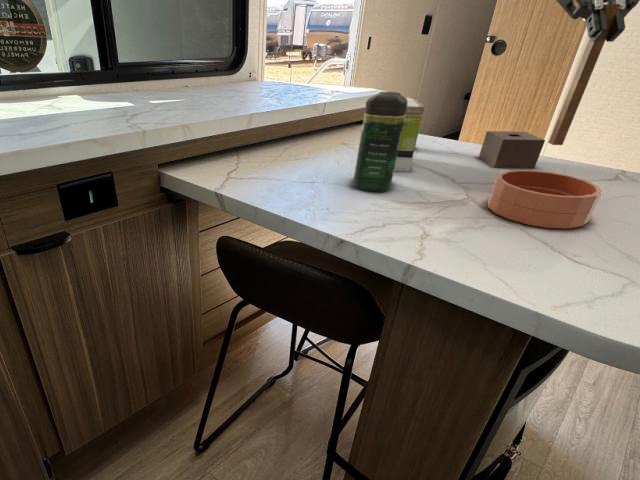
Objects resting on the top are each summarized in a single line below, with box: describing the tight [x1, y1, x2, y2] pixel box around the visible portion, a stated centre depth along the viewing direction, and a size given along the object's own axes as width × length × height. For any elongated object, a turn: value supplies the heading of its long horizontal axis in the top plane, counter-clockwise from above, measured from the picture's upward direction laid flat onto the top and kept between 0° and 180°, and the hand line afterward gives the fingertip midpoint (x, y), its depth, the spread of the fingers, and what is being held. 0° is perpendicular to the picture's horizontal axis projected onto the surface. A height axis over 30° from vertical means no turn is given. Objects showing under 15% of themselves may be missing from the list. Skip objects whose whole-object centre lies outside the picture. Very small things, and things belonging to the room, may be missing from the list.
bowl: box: [487, 169, 603, 230], centre depth 75 cm, size 16×16×6 cm
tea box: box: [394, 97, 425, 172], centre depth 101 cm, size 15×10×15 cm
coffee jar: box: [352, 91, 408, 193], centre depth 85 cm, size 10×8×19 cm
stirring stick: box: [548, 4, 620, 146], centre depth 67 cm, size 2×2×20 cm
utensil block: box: [478, 130, 546, 170], centre depth 103 cm, size 10×10×7 cm
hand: (607, 36), depth 62 cm, fingers closed on stirring stick, 1 cm apart
